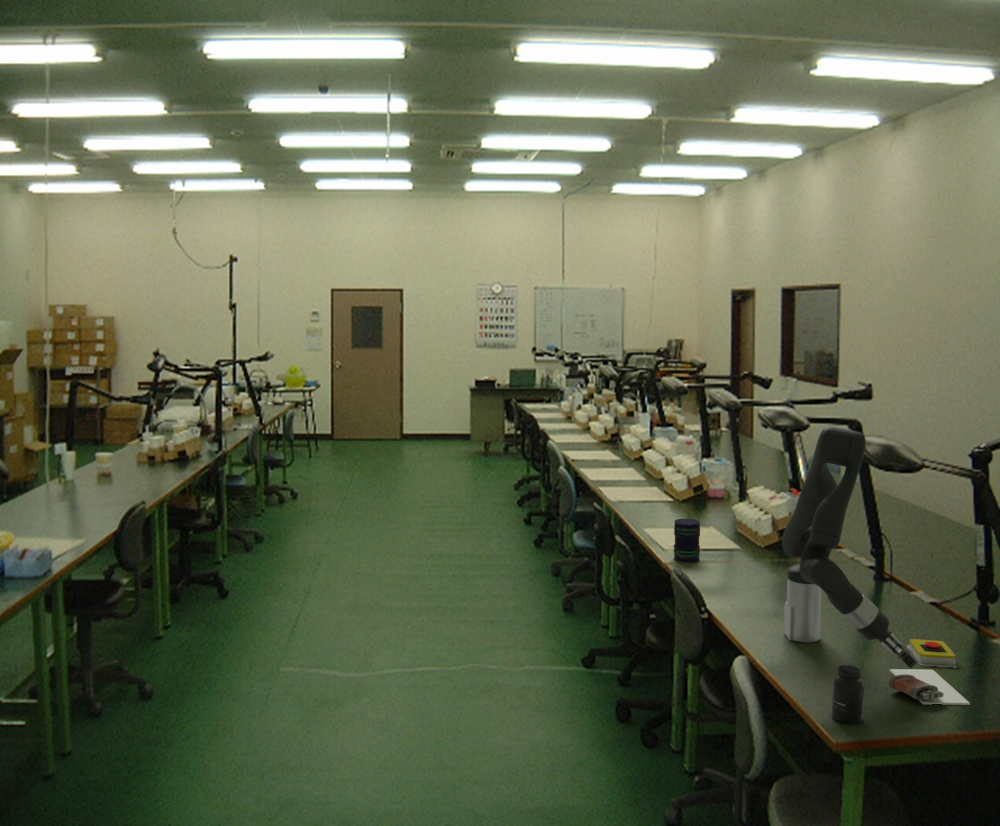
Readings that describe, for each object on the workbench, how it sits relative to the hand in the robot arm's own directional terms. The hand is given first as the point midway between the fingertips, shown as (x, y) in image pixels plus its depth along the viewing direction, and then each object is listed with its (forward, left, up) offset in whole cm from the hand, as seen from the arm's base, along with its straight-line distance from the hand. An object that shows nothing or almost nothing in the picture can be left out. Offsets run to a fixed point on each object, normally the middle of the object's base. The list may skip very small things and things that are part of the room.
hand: (912, 664), depth 217 cm
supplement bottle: (-22, -18, -6) cm, 29 cm away
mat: (+4, 0, -6) cm, 7 cm away
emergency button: (+14, +21, -7) cm, 26 cm away
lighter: (-3, -1, -4) cm, 5 cm away
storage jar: (-37, +117, -6) cm, 123 cm away
